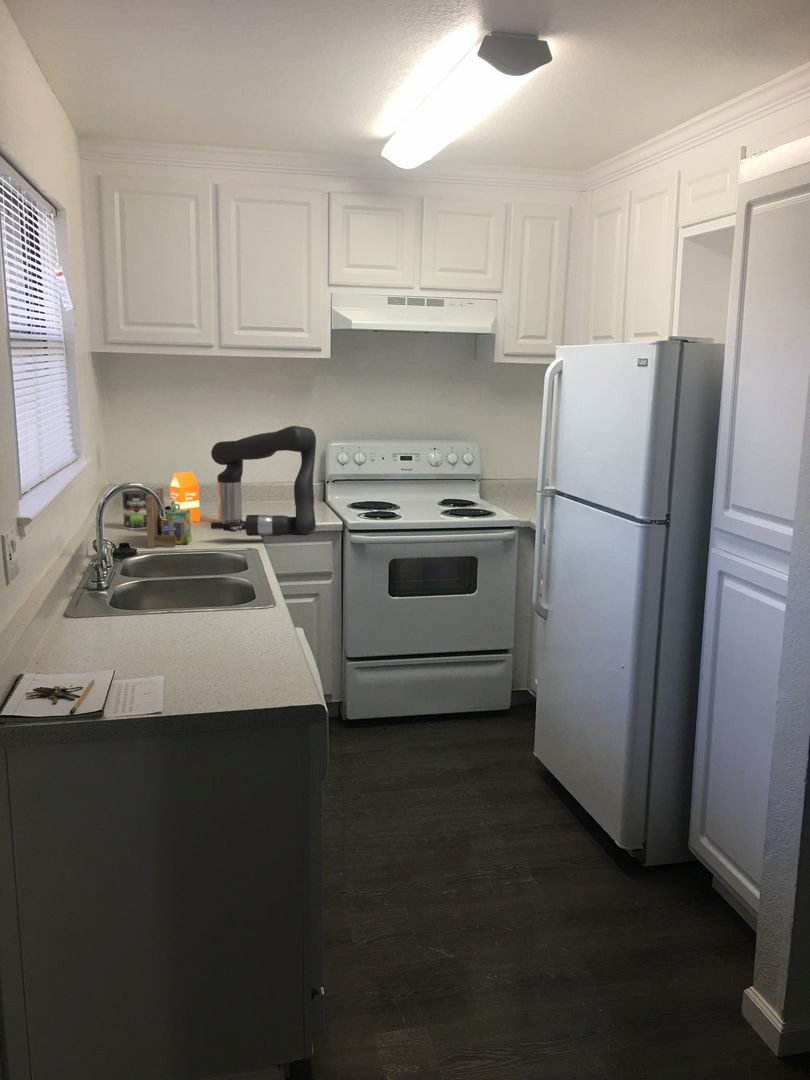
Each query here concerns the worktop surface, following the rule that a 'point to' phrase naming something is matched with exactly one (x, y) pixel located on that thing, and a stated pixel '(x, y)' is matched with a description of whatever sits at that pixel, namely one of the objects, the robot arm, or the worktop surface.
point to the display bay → (156, 523)
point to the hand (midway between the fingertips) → (211, 525)
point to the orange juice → (186, 493)
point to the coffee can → (134, 510)
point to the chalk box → (177, 524)
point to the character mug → (169, 503)
